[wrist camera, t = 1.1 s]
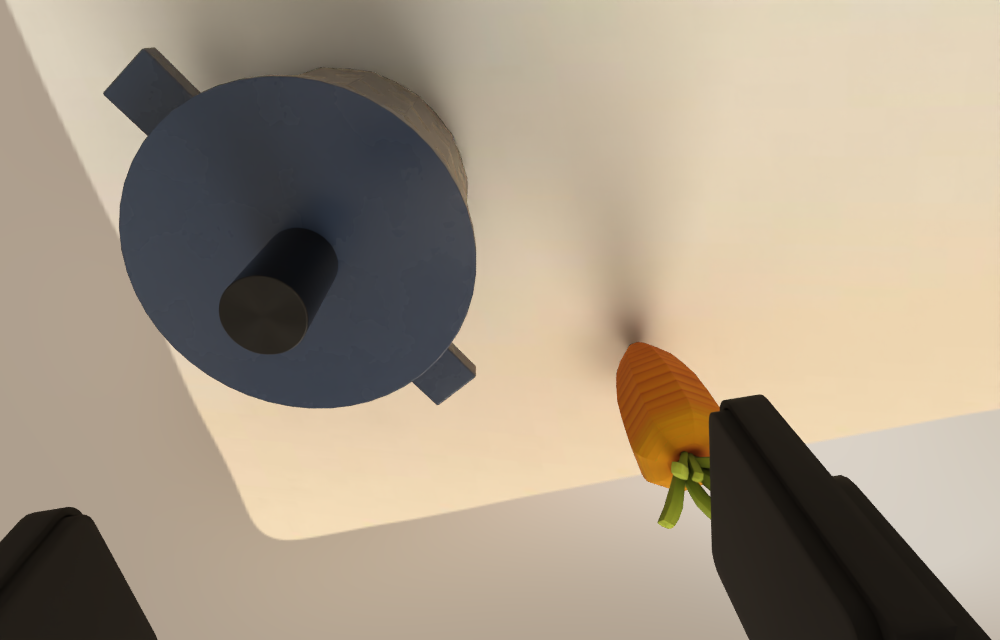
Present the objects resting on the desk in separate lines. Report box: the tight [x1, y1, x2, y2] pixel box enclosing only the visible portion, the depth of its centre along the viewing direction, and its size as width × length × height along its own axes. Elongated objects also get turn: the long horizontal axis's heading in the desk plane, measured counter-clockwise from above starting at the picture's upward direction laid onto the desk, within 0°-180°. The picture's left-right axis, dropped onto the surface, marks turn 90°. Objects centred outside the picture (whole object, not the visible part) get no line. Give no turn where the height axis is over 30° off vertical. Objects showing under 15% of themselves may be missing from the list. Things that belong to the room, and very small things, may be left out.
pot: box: [103, 48, 476, 405], centre depth 30 cm, size 13×18×10 cm
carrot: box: [616, 342, 720, 529], centre depth 33 cm, size 5×5×15 cm
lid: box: [119, 75, 476, 408], centre depth 23 cm, size 14×14×6 cm
